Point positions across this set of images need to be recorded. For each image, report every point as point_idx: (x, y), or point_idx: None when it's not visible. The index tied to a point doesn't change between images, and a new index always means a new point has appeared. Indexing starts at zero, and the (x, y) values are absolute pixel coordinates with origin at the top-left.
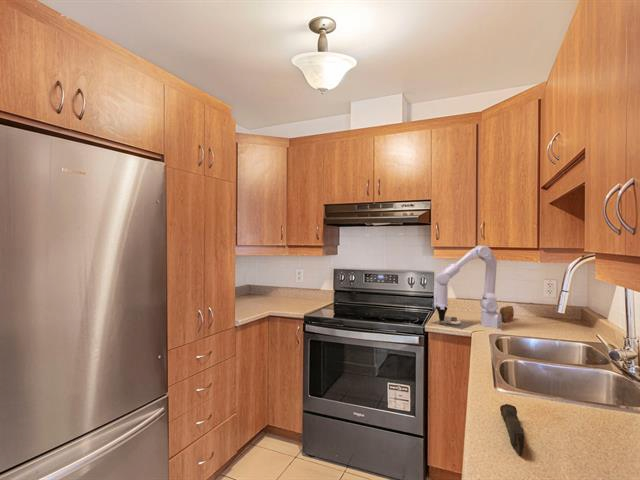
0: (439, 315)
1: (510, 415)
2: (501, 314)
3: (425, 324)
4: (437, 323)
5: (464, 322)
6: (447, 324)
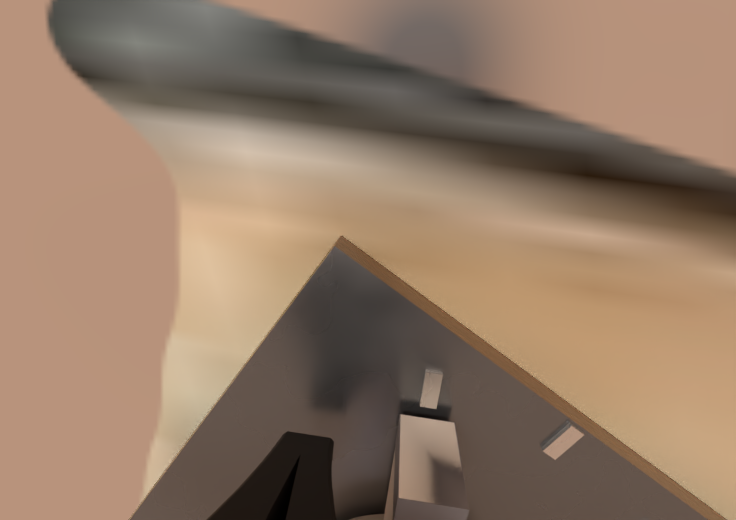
0: (230, 515)
1: None
2: None
3: (391, 154)
4: (329, 364)
5: None
6: None
